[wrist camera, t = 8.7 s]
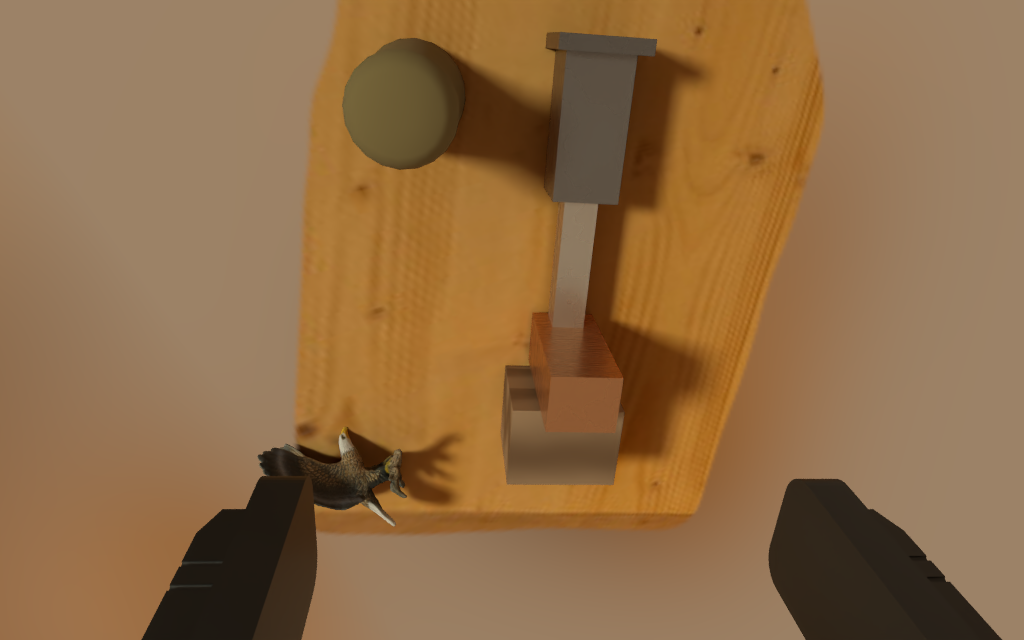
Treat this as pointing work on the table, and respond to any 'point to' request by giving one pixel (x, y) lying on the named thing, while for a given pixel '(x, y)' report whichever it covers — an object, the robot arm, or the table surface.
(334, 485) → the eagle figurine
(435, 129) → the olive green pawn
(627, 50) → the sleeve
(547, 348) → the bar
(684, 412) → the table surface
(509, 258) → the table surface
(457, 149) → the table surface
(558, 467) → the socket block
